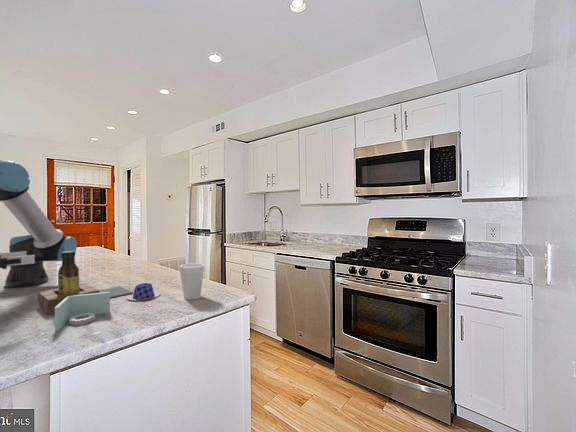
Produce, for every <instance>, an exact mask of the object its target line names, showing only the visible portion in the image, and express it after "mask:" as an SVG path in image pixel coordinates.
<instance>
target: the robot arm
mask: <svg viewBox="0 0 576 432" xmlns="http://www.w3.org/2000/svg"><path fill="white" fill-rule="evenodd" d="M30 182H31V180H30V174H29V172H28V171H27V169H26V168H25V167H24V166H23V165H21V164H20V163H18V162H16V161H11V160H6V159H0V202H1V203H3V205H4V206H5V207H6V208H7V209H8V211H9V212H11V214H12V216H14V217H15V219H16V221H18V222H19V223H20V224H21V225H22V227H23V228H24V229H25V230H26V232H27V233H28V234H27V235H19V236H13V237H11V238H10V239H9V246H8V248H9V252H0V269H2V270H7V269H8V268H7V267H9V271H8V274H7V275H6V279H5V282H4V283H5V284H4V285H5V287H6V288H19V287H20V288H21V287H31V286H36V285H40V284H44V283H47V282H49V275H48V273H47V270H46V269H45V267H44V262H62V256H61V253H62V252H64V251H75V253H76V251H77V246H78V243H77V240H76V238H75V237H73V236H66V234H65V233H64V232H63V231H62V230H60V229H58V228H57V229H56V228H55V227H54V225H53V224H52V222H51V221H50V219H49V218H48V217H47V216H46V215H45V213H44V212H43V211H42V209H41V208H40V207H39V205H38V203H37V202H36V201H35V200H34V198H33V197H32V196H31V194H30V193H29V189H30V184H31V183H30Z"/></svg>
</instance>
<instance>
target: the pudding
mask: <svg viewBox="0 0 576 432" xmlns="http://www.w3.org/2000/svg"><path fill="white" fill-rule="evenodd" d="M134 287H135V288H134V290H133V294H128V296H127V297H126V299H127V300H129V301H145V300H146V301H147V300H150V299H151V300H152V299H154V298H157V297H159V296H160V295H161V293H160V292H159V291H154V287H153V284H152V283H148V282H142V283H140V284H139V283H138V284H136V286H134Z"/></svg>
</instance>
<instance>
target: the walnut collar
mask: <svg viewBox="0 0 576 432" xmlns="http://www.w3.org/2000/svg"><path fill="white" fill-rule="evenodd" d="M99 290H100V289H97V288H95V287H93V286H92V285H90V284H88V283H81V284H79V292H75V293H70V294H65V295H59V296H58V288H53V289H47V290H41V291H38V292H37V293H38V295H37V296H38V297H37V298H38V306H39V307H40V308H41V309H42V310H43V311H44V312H45V313H46V314H47V315H48V316H49V315H55V307H56V306H57V305H58V304H59V303H60V302H61V301H63V300H64V299H65V298H66V297H67V296H73V295H83V294H93V293H99Z"/></svg>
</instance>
